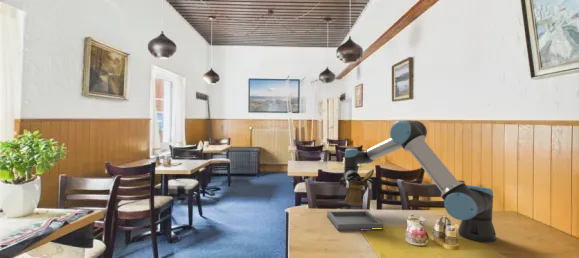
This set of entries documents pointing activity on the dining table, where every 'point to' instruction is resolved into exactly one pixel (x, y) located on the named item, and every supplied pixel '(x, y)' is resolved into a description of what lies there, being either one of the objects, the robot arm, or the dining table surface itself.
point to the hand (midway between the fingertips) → (359, 185)
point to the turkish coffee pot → (357, 190)
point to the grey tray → (353, 220)
